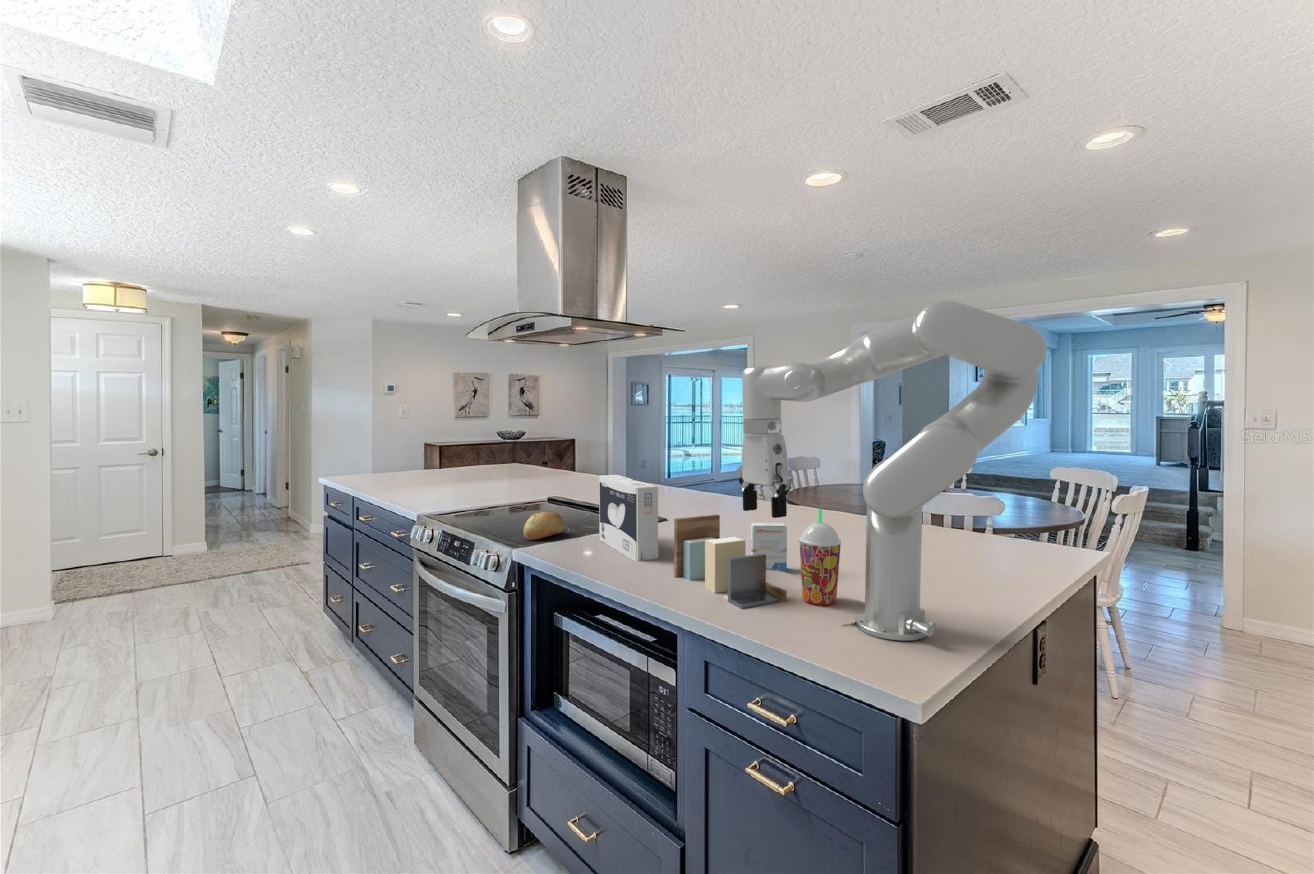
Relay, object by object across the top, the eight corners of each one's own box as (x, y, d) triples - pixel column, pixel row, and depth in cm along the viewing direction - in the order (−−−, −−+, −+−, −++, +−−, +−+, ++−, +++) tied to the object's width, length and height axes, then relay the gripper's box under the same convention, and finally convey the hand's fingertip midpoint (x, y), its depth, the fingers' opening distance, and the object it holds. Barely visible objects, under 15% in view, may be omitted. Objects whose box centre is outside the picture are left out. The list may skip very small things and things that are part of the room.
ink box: (784, 567, 151) (784, 521, 151) (786, 573, 146) (787, 525, 146) (750, 566, 152) (750, 521, 152) (751, 572, 147) (752, 525, 147)
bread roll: (572, 534, 191) (572, 510, 191) (538, 543, 179) (538, 517, 179) (551, 531, 197) (550, 507, 196) (516, 539, 184) (516, 514, 184)
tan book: (745, 589, 132) (745, 539, 131) (714, 594, 128) (714, 543, 128) (734, 584, 136) (735, 536, 135) (705, 589, 132) (705, 540, 131)
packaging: (599, 539, 183) (598, 475, 182) (617, 537, 186) (617, 474, 185) (637, 563, 156) (637, 487, 155) (658, 560, 159) (658, 486, 157)
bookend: (777, 601, 123) (778, 558, 122) (741, 608, 118) (742, 564, 118) (762, 594, 127) (763, 553, 126) (727, 601, 123) (727, 558, 122)
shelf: (786, 604, 123) (786, 535, 122) (738, 614, 118) (738, 541, 117) (716, 572, 147) (716, 514, 146) (674, 579, 141) (674, 518, 141)
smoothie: (790, 601, 126) (791, 507, 124) (823, 596, 128) (824, 505, 127) (814, 614, 118) (815, 514, 117) (848, 609, 121) (850, 511, 120)
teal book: (718, 576, 141) (718, 539, 141) (689, 581, 138) (689, 542, 137) (711, 573, 144) (712, 536, 144) (683, 577, 140) (683, 540, 140)
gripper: (805, 428, 112) (807, 517, 113) (752, 427, 128) (754, 506, 128) (773, 429, 109) (775, 522, 110) (723, 428, 124) (725, 509, 125)
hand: (764, 513), depth 119 cm, fingers open, 9 cm apart
